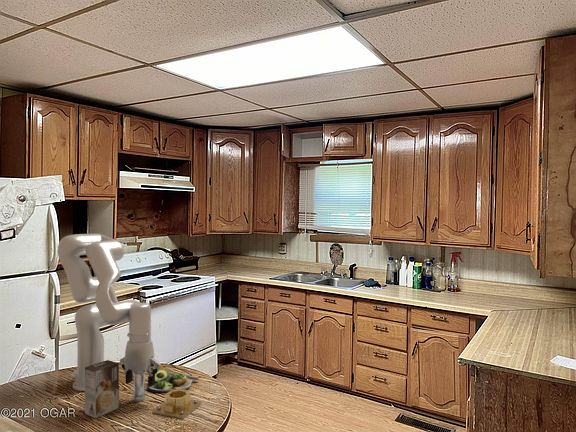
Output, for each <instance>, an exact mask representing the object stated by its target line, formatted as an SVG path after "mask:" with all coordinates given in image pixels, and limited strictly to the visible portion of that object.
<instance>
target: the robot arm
mask: <svg viewBox="0 0 576 432" xmlns="http://www.w3.org/2000/svg"><path fill="white" fill-rule="evenodd" d="M124 254H125V249H124V247H123V244H122V243H121V242H119V241H118V240H117V239H114V238H112V237H109V236H106V235H104V234H101V233H79V234H78V233H77V234H76V233H75V234H69V235H66V236H64V237H63V238H61V240H60V241H59V242H58V245H57V255H58V256H57V257H58V259H59V261H60V264H61V266H62V267H63V270H64V271H65V274H66V279H67V283H68V285H69V290H70V292H71V295H72V298H73V300H74V301H75V303H78V304H85V303H90V302H95V303H91V304H88V305H84V306H82V307H80V308H79V309H78V310H77V311H76V312H75V315H74V324H75V328H76V334H77V336H76V337H77V345H76V346H77V355H76V356H77V358H76V359H77V362H76V364H77V365H76V367H77V370H74V371H73V372H72V374H71V375H70V378H72V379H74V380H75V381H74V382H73V383H72V388H73V389H74V390H75V391H80V392H85V367H88V366H91V365H94V364H97V363H100V362H103V361H105V338H104V334H103V333H102V332H101V331H100V328H102V327H106V326H115V325H118V324H121V323H125V322H128V333H127V337H128V341H127V342H126V345H125V346H126V347H125V352H124V357H122V358H120V359H119V362H120V363H119V364H120V365H121V368H122V369H123V373H125V384H126V385H128V384H130V383H133V378H134V373H133V370H136V371H145V372H146V373H147V374H148V376H147V386H148V387H152V386H153V385H155V374H156V373H157V372H158V371H159V370H160V369H161V367H162V363H161V362H160V361H159V360H157V359H156V358H155V349H154V343H153V341H152V331H151V330H152V316H151V315H152V313H151V310H152V306H151V304H150V303H147V302H140V301H137V300H135V299H129V300H124V301H119V300H118V298H117V297H118V296H117V295H116V294H117V293H116V289H115V288H114V285H113V284H114V283H115V282H117V281H118V280H119V279H120V278H121V276H122V272H121V270H120V268H119V266H118V264H117V261H120V260H121V259H123V257H124ZM80 256H86V257H87V259H88V261H89V264H90V266H91V268H92V270H93V273H94V275H95V276H92V274H91V270H90V267H89V265H88V264H87V263H86V262H85V261H84V259H82V257H80Z"/></svg>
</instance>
